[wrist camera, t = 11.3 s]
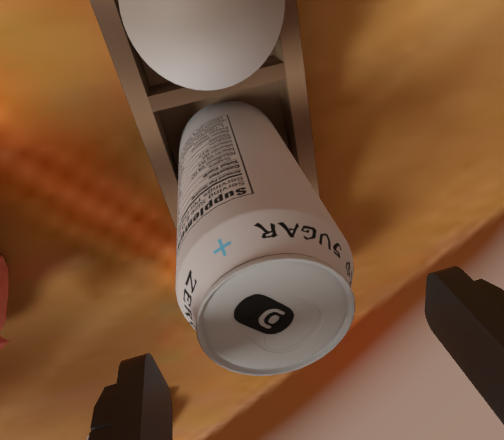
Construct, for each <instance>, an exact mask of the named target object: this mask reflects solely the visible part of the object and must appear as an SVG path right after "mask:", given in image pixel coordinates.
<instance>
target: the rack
mask: <svg viewBox="0 0 504 440" xmlns="http://www.w3.org/2000/svg"><path fill="white" fill-rule="evenodd" d="M90 2H91V5H92V8H93V10H94V13H95V16H96V18H97V21H98V24H99V26H100V29H101V32H102V34H103V37H104V39H105V42H106V45H107V47H108V50H109V53H110V55H111V58H112V61H113V63H114V66H115V69H116V71H117V74H118V77H119V79H120V82H121V84H122V87H123V90H124V92H125V95H126V98H127V100H128V103H129V106H130V108H131V111H132V114H133V116H134V119H135V122H136V124H137V127H138V130H139V132H140V135H141V137H142V140H143V143H144V145H145V148H146V151H147V153H148V156H149V159H150V161H151V164H152V167H153V169H154V172H155V175H156V177H157V180H158V182H159V185H160V188H161V190H162V193H163V196H164V198H165V201H166V204H167V206H168V209H169V212H170V214H171V217H172V220H173V222H174V225H175V228H176V230H177V212H178V174H179V145H180V139H181V135H182V132H183V130H184V128H185V126H186V124H187V123H188V121H189V120H190V119H191V118H192V117H193V115H195V114H196V113H197V112H198V111H200V110H201V109H202V108H204V107H206V106H208V105H210V104H213V103H216V102H220V101H231V100H232V101H240V102H244V103H247V104H250V105H252V106H254V107H256V108H257V109H259V110H260V111H262V112H263V113H264V114H265V115H266V116H267V117H268V119H269V120H270V121H271V123H272V124H273V126H274V127H275V129H276V130H277V132H278V134H279V135H280V137H281V138H282V140H283V141H284V143H285V145H286V146H287V148H288V149H289V151H290V152H291V154H292V156H293V157H294V159H295V160H296V162H297V163H298V165H299V167H300V168H301V170H302V171H303V173H304V174H305V176H306V178H307V179H308V181H309V182H310V184H311V185H312V187H313V189H314V190H315V192H316V193H317V195H318V196H319V198H320V195H319V187H318V179H317V170H316V162H315V154H314V145H313V137H312V129H311V120H310V112H309V104H308V96H307V87H306V79H305V71H304V62H303V54H302V46H301V37H300V29H299V21H298V12H297V4H296V0H90Z"/></svg>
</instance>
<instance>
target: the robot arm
mask: <svg viewBox="0 0 504 440" xmlns="http://www.w3.org/2000/svg"><path fill="white" fill-rule="evenodd" d="M426 284H427V285H426V299H425V315H426V319H427V322H428V324H429V326H430V328H431V330H432V331H433V333H434V334H435V335H436V337H437V338H438V339H439V341H440V342H441V343H442V344H443V346H444V347H445V348H446V350H447V351H448V352H449V353H450V355H451V356H452V358H453V359H454V360H455V361H456V363H457V364H458V365H459V367H460V368H461V369H462V371H463V372H464V373H465V375H466V376H467V377H468V379H469V380H470V381H471V382H472V384H473V385H474V386H475V388H476V389H477V390H478V392H479V393H480V394H481V395H482V397H483V398H484V399H485V401H486V402H487V403H488V405H489V406H490V407H491V409H492V410H493V411H494V413H495V414H496V415H497V416H498V418H499V419H500V420H501V421H502V423H503V424H504V290H502V289H501V288H499V287H497V286H495V285H493V284H490V283H489V282H487V281H485V280H483V279H479V280H476V281H473V280H472V279H471V278H470V277H469V276H468V275H467V274H466V273H465V272H464V271H463V270H462V269H461V268H459V267H457V266H454V267H450V268H446V269H443V270H439V271H436V272H433V273H429V274H428V276H427V283H426ZM88 440H172V400H171V395H170V391H169V388H168V385H167V383H166V381H165V379H164V377H163V376H162V374H161V372H160V370H159V368H158V366H157V364H156V363H155V361H154V359H153V357H152V355H151V354H149V353H147V354H144V355H140V356H137V357H133V358H130V359H126V360H123V361H121V363H120V365H119V371H118V378H117V384H114V385H110V386H107V387H105V388H104V390H103V392H102V394H101V396H100V397H99V399H98V401H97V403H96V405H95V407H94V411H93V417H92V423H91V432H90V434H89V439H88Z"/></svg>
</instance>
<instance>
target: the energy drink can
mask: <svg viewBox="0 0 504 440" xmlns="http://www.w3.org/2000/svg"><path fill="white" fill-rule="evenodd" d="M353 271H354V266H353V257H352V253H351V250H350V247H349V245H348V242H347V240H346V239H345V237H344V236H343V234H342V233H341V231H340V229H339V228H338V226H337V225H336V223H335V222H334V220H333V218H332V217H331V215H330V214H329V212H328V211H327V209H326V207H325V206H324V204H323V203H322V201H321V200H320V198H319V196H318V195H317V193H316V192H315V190H314V189H313V187H312V185H311V184H310V182H309V181H308V179H307V178H306V176H305V174H304V173H303V171H302V170H301V168H300V167H299V165H298V163H297V162H296V160H295V159H294V157H293V156H292V154H291V152H290V151H289V149H288V148H287V146H286V145H285V143H284V141H283V140H282V138H281V137H280V135H279V134H278V132H277V130H276V129H275V127H274V126H273V124H272V123H271V121H270V120H269V119H268V117H267V116H266V115H265V114H264V113H263V112H262V111H260V110H259V109H257V108H256V107H254V106H252V105H250V104H247V103H244V102H240V101H232V100H231V101H220V102H216V103H213V104H210V105H208V106H206V107H204V108H202V109H201V110H200V111H198V112H197V113H196V114H195V115H193V117H192V118H191V119H190V120H189V121H188V123H187V124H186V126H185V128H184V130H183V132H182V135H181V139H180V145H179V174H178V212H177V251H176V295H177V301H178V304H179V307H180V309H181V311H182V313H183V315H184V317H185V318H186V319H187V320H188V322H189V323H190V324H191V325H192V327H193V328H194V329H195V330H196V332H197V339H198V341H199V343H200V346H201V348H202V350H203V351H204V352H205V353H206V354H207V356H208V357H209V358H210V359H211V360H213V361H214V362H215V363H217V364H218V365H219V366H221V367H223V368H226V369H228V370H230V371H233V372H237V373H240V374H246V375H254V376H266V375H276V374H283V373H287V372H291V371H294V370H298V369H300V368H302V367H305V366H307V365H310V364H311V363H313V362H315V361H317V360H318V359H320V358H322V357H323V356H325V355H326V354H327V353H329V352H330V351H331V350H332V349H334V348H335V346H336V345H337V344H338V343H339V342H340V341H341V340H342V339H343V337H344V336H345V334H346V333H347V331H348V330H349V328H350V325H351V323H352V321H353V318H354V311H355V300H354V294H353V292H352V289H351V284H352V278H353Z"/></svg>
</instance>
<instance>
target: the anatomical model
mask: <svg viewBox="0 0 504 440" xmlns="http://www.w3.org/2000/svg"><path fill="white" fill-rule="evenodd" d="M8 271H9V270H8V267H7V265H6V262H5V260H4V257H3V256H2V255H0V332H1V330H2V328H3V326H4V324H5V320H6V314H7V301H8V286H9V281H8ZM8 342H10V341H8V340H6V339H4V338H1V337H0V349H2V348H3V347H4V346H5V345H6V344H7V343H8Z"/></svg>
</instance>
